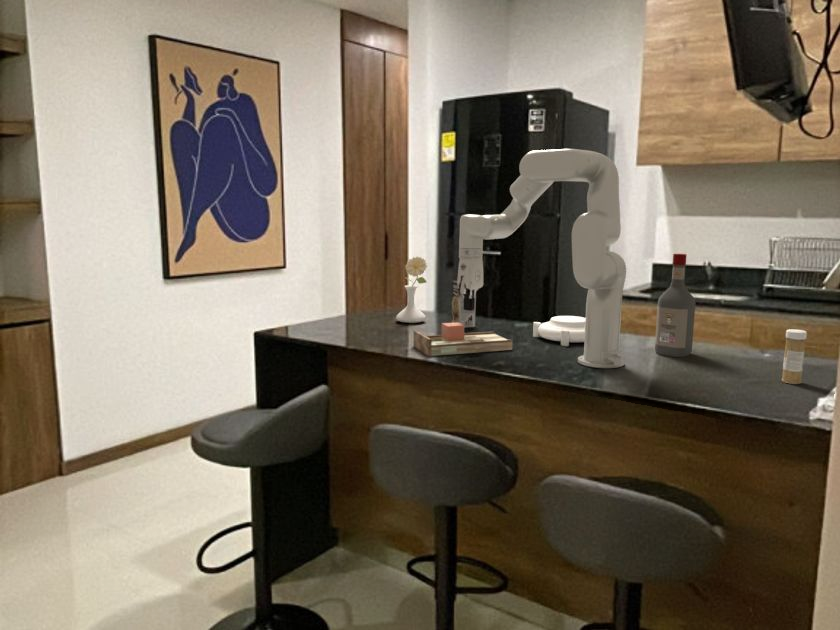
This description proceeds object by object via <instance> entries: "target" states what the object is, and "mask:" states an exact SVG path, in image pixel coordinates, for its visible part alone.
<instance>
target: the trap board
mask: <svg viewBox="0 0 840 630" xmlns="http://www.w3.org/2000/svg"><path fill="white" fill-rule="evenodd" d="M413 347H414V348H415V349H417V350H418V351H420V352H422V353H423V354H424V355H426V356H427V357H431V356H432V357H433V356H447V355H458V354H459V355H461V354H472V353H474V354H475V353H486V352H498V351H499V352H500V351H512V350H513V339H507V338H505V337H503V336H501V335H498V334H496V333H495V331H482V332H481V331H478V332H467V333H466V332H464V340H451V341H447V340H446V339H444V338H442V334H434V335H433V334H432V335H425V334H423V333H421V332H420V331H419V330H413Z"/></svg>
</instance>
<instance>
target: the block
mask: <svg viewBox="0 0 840 630" xmlns="http://www.w3.org/2000/svg"><path fill="white" fill-rule="evenodd" d="M464 333H465V327H464V325H462V324H460V323H458V322H456V323H452V322H442V323H441V335H442V338H444V339H446V340H447V341H451V340H464Z"/></svg>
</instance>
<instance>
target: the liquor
mask: <svg viewBox="0 0 840 630" xmlns="http://www.w3.org/2000/svg"><path fill="white" fill-rule="evenodd" d="M672 257H673V258H672V274H671V283H670V286H669V287H668V288H667V289H666V290H665V291H664V292H663V293H662V294H661V295H660V296H659V297H658V300H657V307H656V308H657V309H656V323H655V324H656V325H655V340H654V350H655V352H656V354H657V355H660V356H665V357H672V358H684V357H687V356H690V355H691V353H692V351H693V339H694V328H695V327H694V326H695V325H694V324H695V315H696V299H695V297H694V296H693V295H692V293H691V292H690V291H689V289H687V288H686V284H685V275H686V266H687V265H686V264H687V254H686V253H673V254H672Z"/></svg>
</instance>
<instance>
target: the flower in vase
mask: <svg viewBox="0 0 840 630" xmlns="http://www.w3.org/2000/svg"><path fill="white" fill-rule="evenodd" d="M427 267H428V265H427V262H426V260H425V258H422V257H421V256H416V257H415V256H412V258H409V259H408V261H406V265H405V266H404V268H405V271H406V274H408V275H409V276H412V277H416V278H415V281H414V282H413V280H411V279H409V278H407V276H406V277H405V276H404V278H405V279H406V280H408V281H410V282H411V283H412V284H409V285H404V288H405V290H406V293H407V304H406V307H404V309H402V310H400V312H399V313H397V315H396V317H395V319H396V320H397V321H399V322H401V323H404V324H405V323H406V324H407V323H408V324H416V323H421V322H423V321H425V320H426V319H427V317H426V315H425V314H424V312H422V311H421V310H420V309H419V308H417V306H416V305H415V293H416V290H417V288H418V285H416V284H415V283H416V282H417V283H418V284H426V283H427V280H426V279H425V278H424V277H423V276H421V275H423V274H424V273H425V271H426V270H427ZM419 276H421V277H419ZM414 284H415V285H414Z"/></svg>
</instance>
